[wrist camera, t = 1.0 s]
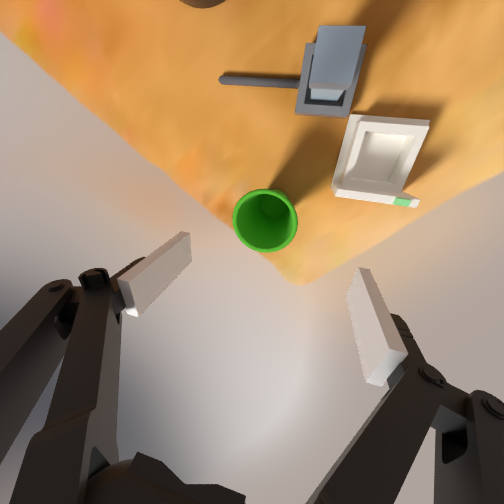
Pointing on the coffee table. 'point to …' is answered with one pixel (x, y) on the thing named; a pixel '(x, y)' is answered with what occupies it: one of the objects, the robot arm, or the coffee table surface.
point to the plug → (334, 61)
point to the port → (378, 158)
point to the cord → (259, 81)
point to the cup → (265, 220)
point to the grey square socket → (324, 107)
